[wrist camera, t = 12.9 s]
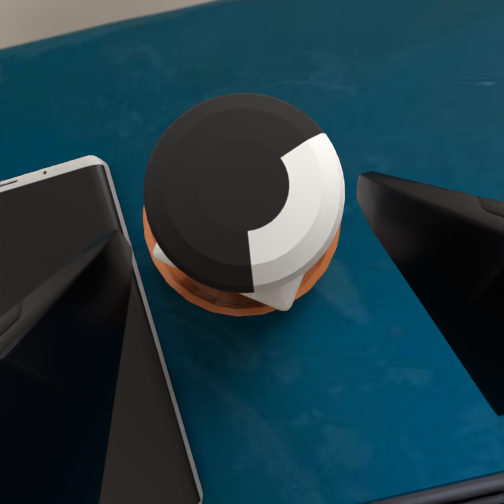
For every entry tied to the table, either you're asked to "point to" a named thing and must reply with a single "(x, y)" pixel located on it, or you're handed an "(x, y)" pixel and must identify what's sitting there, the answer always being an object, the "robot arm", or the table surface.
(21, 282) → the smartphone
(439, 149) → the table surface
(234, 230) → the medicine bottle
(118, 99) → the table surface
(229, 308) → the dish
